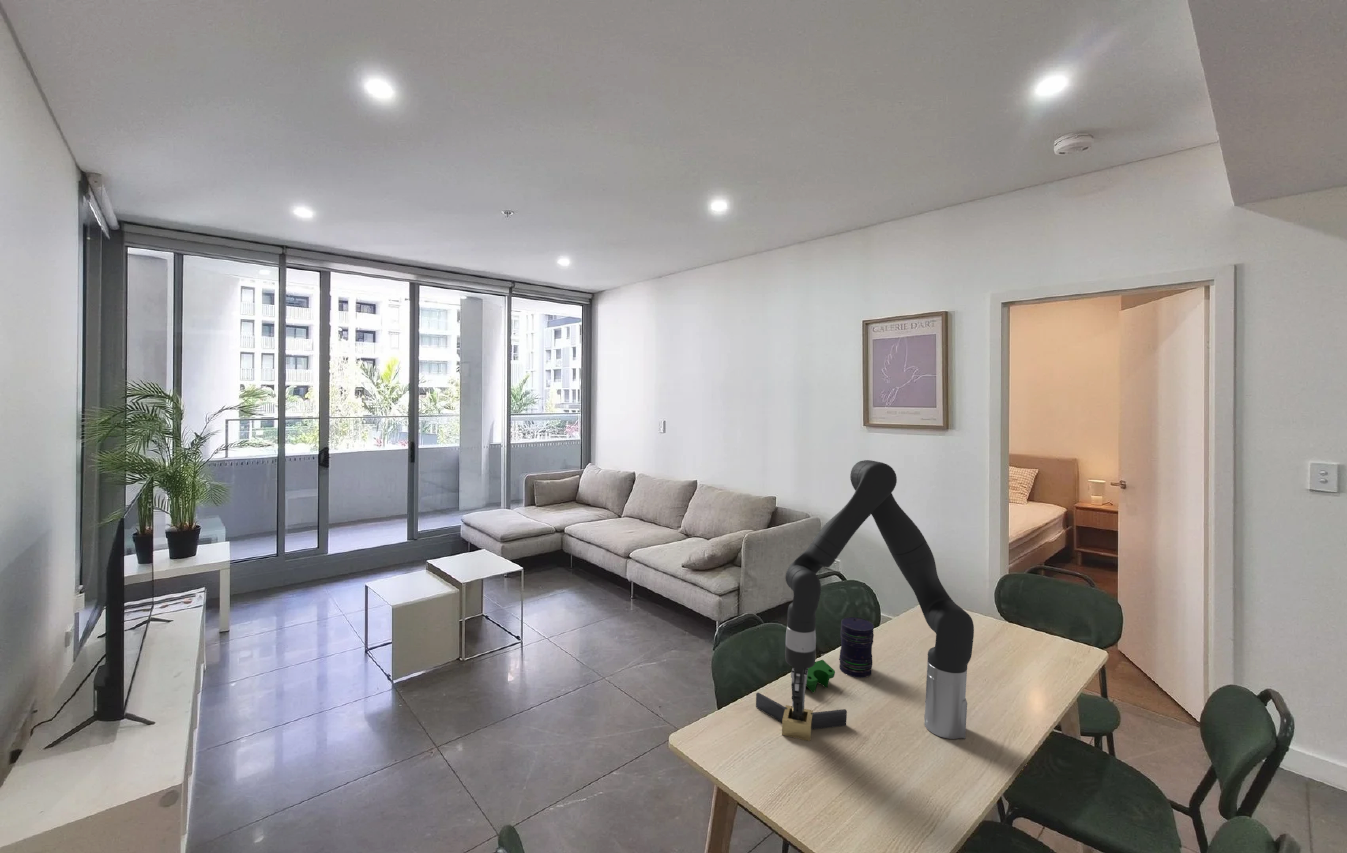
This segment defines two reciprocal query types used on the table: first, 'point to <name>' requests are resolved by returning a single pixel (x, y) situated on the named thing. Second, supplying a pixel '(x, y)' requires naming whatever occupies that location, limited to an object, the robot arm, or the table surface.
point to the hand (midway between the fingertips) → (798, 709)
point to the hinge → (795, 726)
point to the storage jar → (856, 647)
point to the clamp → (819, 675)
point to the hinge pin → (797, 716)
